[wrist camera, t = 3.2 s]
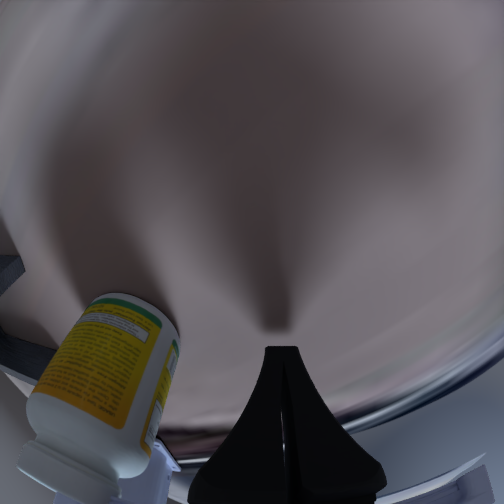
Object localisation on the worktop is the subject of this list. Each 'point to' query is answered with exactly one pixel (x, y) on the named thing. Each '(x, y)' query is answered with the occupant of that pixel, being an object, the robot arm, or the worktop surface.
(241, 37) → the worktop surface
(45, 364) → the docking mount
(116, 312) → the supplement bottle
